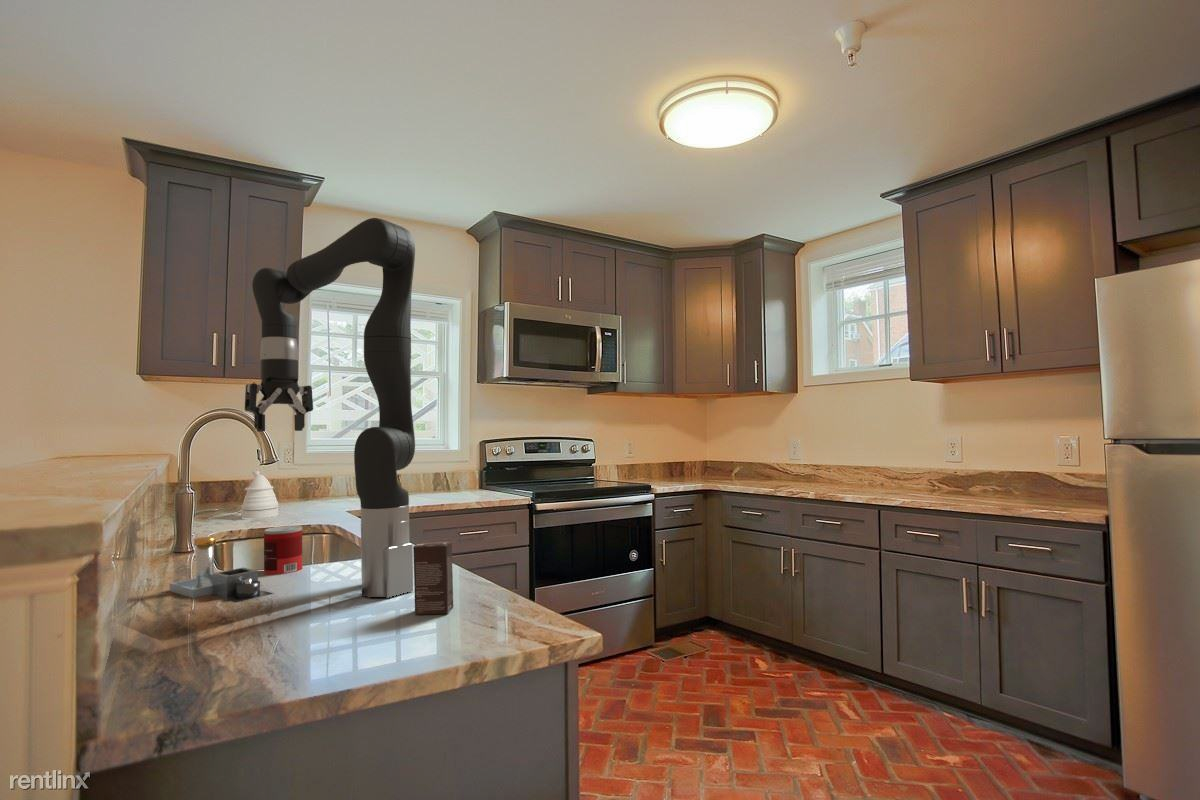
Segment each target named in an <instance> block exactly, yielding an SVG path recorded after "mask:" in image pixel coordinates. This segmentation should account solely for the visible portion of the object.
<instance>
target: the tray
mask: <svg viewBox="0 0 1200 800" xmlns="http://www.w3.org/2000/svg"><path fill="white" fill-rule="evenodd" d="M169 592H170V593H175V594H177V595H182V596H185V597H188V598H192V599H195V598H199V597H202V596H203V597H204V596H209V594H213V585H209V586H205V587H200V588H196V577H195V578H191V579H185V580H180V581H175V582H169Z"/></svg>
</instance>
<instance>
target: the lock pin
mask: <svg viewBox="0 0 1200 800" xmlns="http://www.w3.org/2000/svg"><path fill="white" fill-rule="evenodd" d="M216 544H217V537H216V536H201V537H196V538H194V539H193V546H195V547H196V549H195V551H196V552H195V555H196V558H195V560H196V561H195V563H196V564H195V565H196V566H195V567H196V568H195V569H196V570H195V573H196V574H195V575H196V577H195V578H196V586H195V588H200V587H205V586H209V585H213V575H212V574H213V573H215V571H214V570H215V569H214V568H215V565H214V564H215V552H214V551H215V545H216Z"/></svg>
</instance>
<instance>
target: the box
mask: <svg viewBox="0 0 1200 800" xmlns="http://www.w3.org/2000/svg"><path fill="white" fill-rule="evenodd" d="M452 547H453V543H452V541H440V542H439V541H436V542H435V541H434V542H432V541H431V542H419V543H417V544H415V545H413V591H414V614H415V616H416V615H435V614H441V615H442V614H446V615H448V614H449V613H451V611H452V609H454V586H453V585H454V584H453V583H454V581H453V548H452Z"/></svg>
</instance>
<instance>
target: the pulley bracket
mask: <svg viewBox="0 0 1200 800" xmlns="http://www.w3.org/2000/svg"><path fill="white" fill-rule="evenodd" d="M212 575H213V593H212V594H208V596H211V597H215V598H218V599H221V600H225V601H228V602H232V603H240V602H245V601H249V600H253V599H256V598H261V597H265V596H270V595H273V594H274V592H269V591H266V590H262V589H261V581H260V580H259V570H257V569H252V568H247V567H240V568H239V567H238V568H233V569H229V570H223V571H218V572H214V573H213V574H212Z"/></svg>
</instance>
